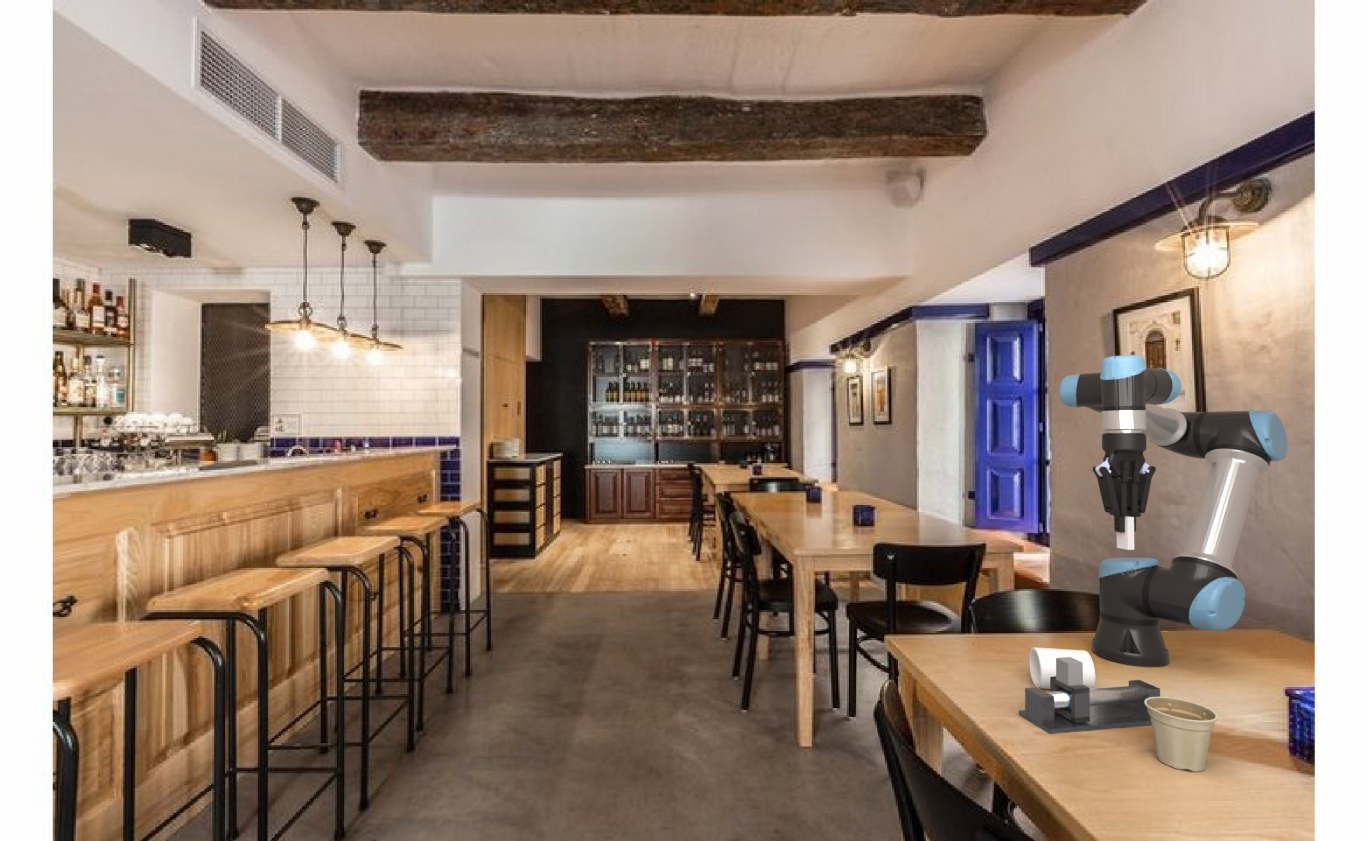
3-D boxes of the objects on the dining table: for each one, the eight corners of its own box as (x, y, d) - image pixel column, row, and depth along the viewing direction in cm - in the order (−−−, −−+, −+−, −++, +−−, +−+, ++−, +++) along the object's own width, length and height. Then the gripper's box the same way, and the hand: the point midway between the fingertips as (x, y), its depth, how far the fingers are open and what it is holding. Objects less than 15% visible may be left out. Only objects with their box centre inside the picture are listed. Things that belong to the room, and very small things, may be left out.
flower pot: (1220, 761, 105) (1220, 707, 105) (1217, 784, 98) (1216, 726, 98) (1149, 743, 111) (1148, 691, 111) (1140, 763, 104) (1140, 708, 104)
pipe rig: (1131, 705, 127) (1131, 676, 127) (1169, 723, 119) (1168, 691, 119) (1018, 714, 122) (1018, 683, 122) (1049, 733, 114) (1049, 700, 115)
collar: (1064, 708, 123) (1064, 654, 123) (1089, 721, 117) (1089, 665, 117) (1050, 709, 122) (1050, 655, 123) (1075, 722, 116) (1074, 666, 117)
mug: (1096, 698, 130) (1095, 657, 131) (1041, 694, 132) (1040, 654, 133) (1073, 676, 142) (1072, 639, 142) (1023, 673, 144) (1022, 636, 144)
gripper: (1135, 432, 138) (1137, 544, 138) (1081, 432, 136) (1082, 546, 135) (1167, 431, 131) (1169, 550, 130) (1110, 431, 129) (1112, 552, 128)
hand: (1125, 548), depth 133 cm, fingers closed
